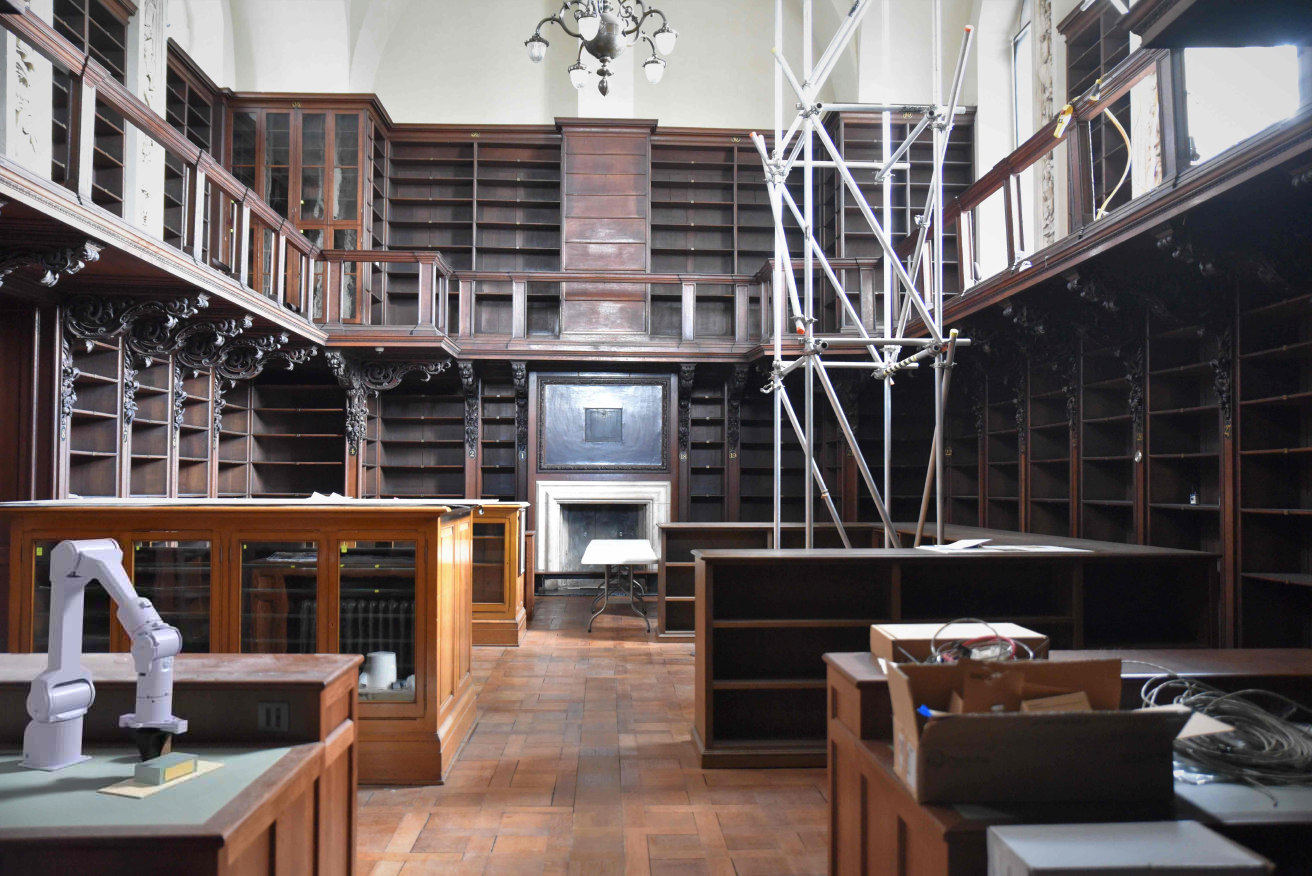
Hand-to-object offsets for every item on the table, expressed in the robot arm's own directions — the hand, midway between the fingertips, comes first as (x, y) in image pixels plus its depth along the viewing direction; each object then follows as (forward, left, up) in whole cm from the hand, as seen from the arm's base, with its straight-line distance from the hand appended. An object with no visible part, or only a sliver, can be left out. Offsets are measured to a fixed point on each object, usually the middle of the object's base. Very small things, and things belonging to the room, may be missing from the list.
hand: (150, 768), depth 150 cm
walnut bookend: (-9, +9, -1) cm, 12 cm away
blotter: (+4, 0, -1) cm, 4 cm away
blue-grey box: (+1, 0, 0) cm, 1 cm away
